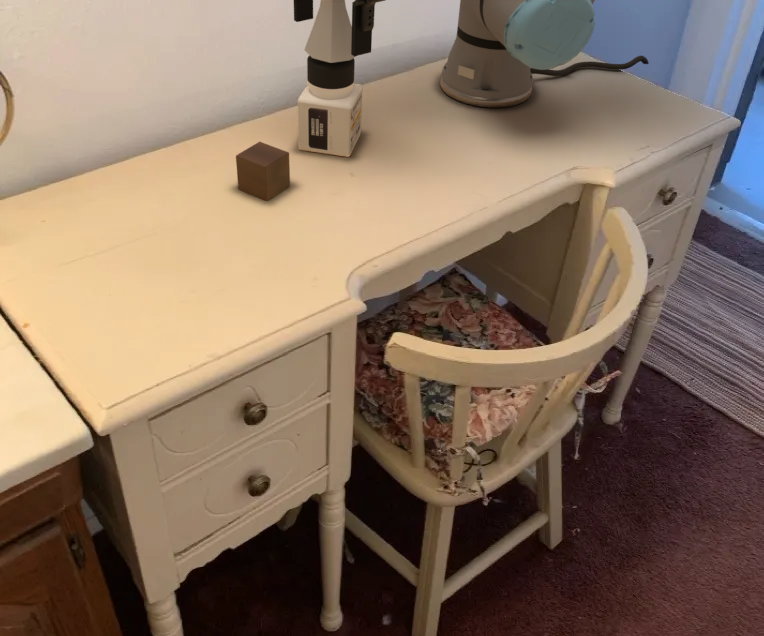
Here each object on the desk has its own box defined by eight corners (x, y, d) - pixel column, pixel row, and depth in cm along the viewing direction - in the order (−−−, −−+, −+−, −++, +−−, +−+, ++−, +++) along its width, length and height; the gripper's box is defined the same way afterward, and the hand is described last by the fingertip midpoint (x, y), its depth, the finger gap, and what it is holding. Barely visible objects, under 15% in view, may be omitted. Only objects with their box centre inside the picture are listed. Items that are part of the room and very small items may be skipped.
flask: (334, 39, 118) (335, -37, 111) (369, 55, 115) (372, -22, 108) (295, 51, 114) (293, -27, 107) (330, 68, 111) (331, -11, 104)
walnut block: (261, 174, 115) (259, 141, 112) (290, 186, 114) (289, 152, 110) (238, 189, 112) (235, 155, 109) (267, 201, 111) (265, 167, 107)
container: (349, 158, 120) (352, 68, 111) (297, 150, 121) (296, 61, 112) (361, 134, 126) (364, 47, 117) (311, 126, 126) (311, 40, 117)
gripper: (250, -167, 103) (259, 11, 118) (370, -120, 89) (363, 75, 104) (301, -172, 106) (303, 2, 121) (424, -127, 93) (410, 62, 107)
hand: (331, 36), depth 113 cm, fingers open, 13 cm apart
